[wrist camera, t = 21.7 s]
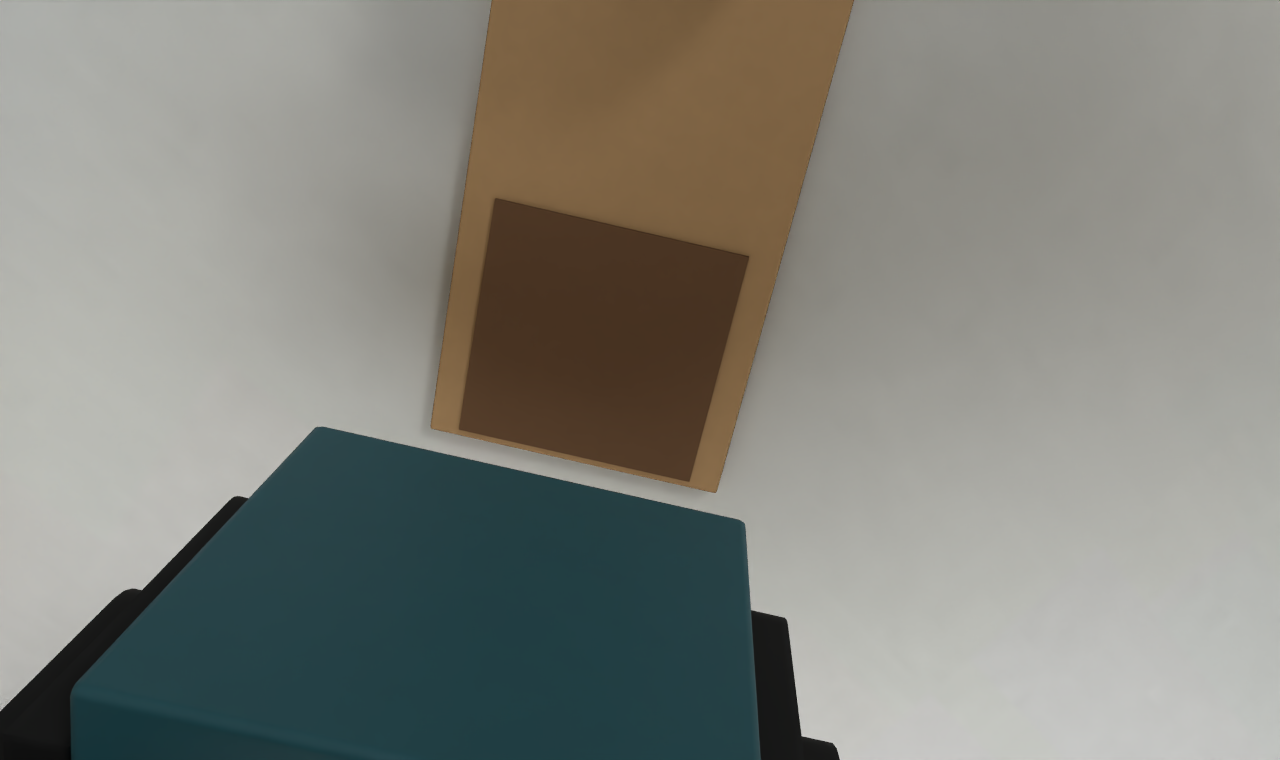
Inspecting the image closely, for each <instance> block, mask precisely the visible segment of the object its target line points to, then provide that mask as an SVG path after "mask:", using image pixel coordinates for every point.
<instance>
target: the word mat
mask: <svg viewBox="0 0 1280 760" xmlns="http://www.w3.org/2000/svg"><path fill="white" fill-rule="evenodd" d="M853 2H854V0H492V3H491V10H490V17H489V24H488V31H487V38H486V45H485V52H484V59H483V66H482V72H481V79H480V86H479V93H478V100H477V107H476V114H475V121H474V128H473V135H472V142H471V149H470V156H469V163H468V170H467V177H466V183H465V190H464V197H463V204H462V211H461V218H460V225H459V232H458V239H457V246H456V253H455V260H454V267H453V274H452V281H451V288H450V295H449V301H448V308H447V315H446V322H445V329H444V336H443V343H442V350H441V357H440V364H439V371H438V378H437V385H436V392H435V399H434V406H433V412H432V419H431V428H432V429H436V430H440V431H444V432H449V433H453V434H458V435H462V436H466V437H471V438H475V439H480V440H484V441H488V442H493V443H497V444H502V445H506V446H510V447H515V448H519V449H524V450H528V451H532V452H537V453H541V454H546V455H550V456H554V457H559V458H563V459H568V460H572V461H576V462H581V463H585V464H590V465H594V466H598V467H603V468H607V469H612V470H616V471H620V472H625V473H629V474H633V475H638V476H642V477H647V478H651V479H655V480H660V481H664V482H669V483H673V484H677V485H682V486H686V487H691V488H695V489H699V490H704V491H708V492H713V493H716V492H717V488H718V485H719V481H720V478H721V474H722V471H723V467H724V463H725V460H726V456H727V453H728V449H729V446H730V442H731V438H732V435H733V431H734V428H735V424H736V420H737V417H738V413H739V410H740V406H741V403H742V399H743V395H744V392H745V388H746V385H747V381H748V378H749V374H750V370H751V367H752V363H753V360H754V356H755V353H756V349H757V345H758V342H759V338H760V335H761V331H762V327H763V324H764V320H765V317H766V313H767V310H768V306H769V302H770V299H771V295H772V292H773V288H774V285H775V281H776V277H777V274H778V270H779V267H780V263H781V260H782V256H783V252H784V249H785V245H786V242H787V238H788V234H789V231H790V227H791V224H792V220H793V217H794V213H795V209H796V206H797V202H798V199H799V195H800V192H801V188H802V184H803V181H804V177H805V174H806V170H807V167H808V163H809V159H810V156H811V152H812V149H813V145H814V141H815V138H816V134H817V131H818V127H819V124H820V120H821V116H822V113H823V109H824V106H825V102H826V99H827V95H828V91H829V88H830V84H831V81H832V77H833V74H834V70H835V66H836V63H837V59H838V56H839V52H840V48H841V45H842V41H843V38H844V34H845V31H846V27H847V23H848V20H849V16H850V13H851V9H852V6H853Z"/></svg>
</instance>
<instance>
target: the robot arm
mask: <svg viewBox="0 0 1280 760" xmlns="http://www.w3.org/2000/svg"><path fill="white" fill-rule="evenodd" d="M248 499H249V498H245V497H240V496H236V497H233V498H232V499H231V500H229V501H228V502H227V503H226V505H225V506H224V507H223V508H222V509H221V510H220V511H219V512H218V513H217V514H216V515H215V516H214V517H213V518H212V519H211V520H210V521H209V522H208V523H207V524H206V525H205V526H204V527H203V528H202V529H201V530H200V531H199V532H198V533H197V534H196V535H195V536H194V537H193V538H192V539H191V540H190V541H189V543H188V544H187V545H186V546H185V547H184V548H183V549H182V550H181V551H180V552H179V553H178V554H177V555H176V556H175V557H174V558H173V559H172V560H171V561H170V562H169V563H168V564H167V565H166V566H165V567H164V568H163V569H162V570H161V571H160V572H159V573H158V574H157V575H156V576H155V577H154V578H153V580H152V581H151V582H150V583H149V584H148V585H147V586H146V587H145V588H144V589H143V590H138V589H129V590H125V591H123V592H122V593H121V594H119V595H118V596H117V597H115V598H114V599H113V600H112V601H111V602H110V603H109V604H108V605H107V606H106V607H105V608H104V609H103V610H102V611H101V612H100V613H99V614H98V615H97V616H96V617H95V618H94V619H93V620H92V621H91V622H90V623H89V624H88V625H87V626H86V627H85V628H84V629H83V630H82V631H81V632H80V633H79V634H78V635H77V636H76V637H75V638H74V639H73V640H72V641H71V642H70V643H69V644H68V645H67V646H66V647H65V648H64V649H63V650H62V651H61V652H60V653H59V654H58V655H57V656H56V657H55V658H54V659H53V660H52V661H51V662H50V663H49V664H48V665H47V666H46V667H45V668H44V669H43V670H42V671H41V672H40V673H39V674H37V675H36V676H35V677H34V678H33V679H32V680H31V681H30V682H29V683H28V684H27V685H26V686H25V687H24V688H23V689H22V690H21V691H20V692H19V693H18V694H17V695H16V696H15V697H14V698H13V699H12V700H11V701H10V702H9V703H8V704H7V705H6V706H5V707H4V708H3V709H2V710H1V711H0V760H71V718H70V695H71V692H72V689H73V687H74V685H75V683H76V682H77V681H78V680H79V679H80V678H81V677H82V676H83V675H84V674H85V673H86V672H87V670H88V669H89V668H90V667H91V666H92V665H93V664H94V663H95V662H96V661H97V660H98V659H99V658H100V657H101V656H102V654H103V653H104V652H105V651H106V650H107V649H108V648H109V647H110V646H111V645H112V644H113V643H114V642H115V641H116V640H117V638H118V637H119V636H120V635H121V634H122V633H123V632H124V631H125V630H126V629H127V628H128V627H129V626H130V625H131V624H132V623H133V621H134V620H135V619H136V618H137V617H138V616H139V615H140V614H141V613H142V612H143V611H144V610H145V609H146V608H147V607H148V605H149V604H150V603H151V602H152V601H153V600H154V599H155V598H156V597H157V596H158V595H159V594H160V593H161V592H162V591H163V589H164V588H165V587H166V586H167V585H168V584H169V583H170V582H171V581H172V580H173V579H174V578H175V577H176V576H177V575H178V573H179V572H180V571H181V570H182V569H183V568H184V567H185V566H186V565H187V564H188V563H189V562H190V561H191V560H192V559H193V557H194V556H195V555H196V554H197V553H198V552H199V551H200V550H201V549H202V548H203V547H204V546H205V545H206V544H207V543H208V541H209V540H210V539H211V538H212V537H213V536H214V535H215V534H216V533H217V532H218V531H219V530H220V529H221V528H222V527H223V526H224V524H225V523H226V522H227V521H228V520H229V519H230V518H231V517H232V516H233V515H234V514H235V513H236V512H237V511H238V510H239V508H240V507H241V506H242V505H243V504H244V503H245V502H246V501H247V500H248ZM751 620H752V635H753V650H754V665H755V680H756V695H757V710H758V726H759V741H760V756H761V760H840V759H839V755H838V752H837V748H836V747H835V746H834V744H833V743H829V742H825V741H820V740H816V739H811V738H807V737H802V736H801V729H800V721H799V713H798V704H797V696H796V688H795V680H794V672H793V663H792V655H791V647H790V639H789V631H788V624H787V620H786V619H785V618H783V617H779V616H774V615H770V614H765V613H761V612H756V611H752V610H751Z"/></svg>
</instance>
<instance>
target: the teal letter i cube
mask: <svg viewBox="0 0 1280 760" xmlns="http://www.w3.org/2000/svg"><path fill="white" fill-rule="evenodd" d="M70 718H71V760H761V756H760V741H759V726H758V710H757V695H756V680H755V665H754V650H753V635H752V620H751V604H750V589H749V574H748V559H747V544H746V529H745V524H744V523H743V522H742V521H740V520H738V519H733V518H729V517H724V516H720V515H715V514H711V513H706V512H702V511H697V510H693V509H688V508H684V507H680V506H675V505H671V504H666V503H662V502H657V501H653V500H648V499H644V498H639V497H635V496H630V495H626V494H622V493H617V492H613V491H608V490H604V489H599V488H595V487H590V486H586V485H581V484H577V483H572V482H568V481H563V480H559V479H555V478H550V477H546V476H541V475H537V474H532V473H528V472H523V471H519V470H514V469H510V468H505V467H501V466H497V465H492V464H488V463H483V462H479V461H474V460H470V459H465V458H461V457H456V456H452V455H447V454H443V453H438V452H434V451H430V450H425V449H421V448H416V447H412V446H407V445H403V444H398V443H394V442H389V441H385V440H380V439H376V438H372V437H367V436H363V435H358V434H354V433H349V432H345V431H340V430H336V429H331V428H327V427H316V428H315V429H314V430H313V431H312V432H311V433H310V434H309V435H308V436H307V437H306V438H305V439H304V440H303V441H302V442H301V443H300V444H299V446H298V447H297V448H296V449H295V450H294V451H293V452H292V453H291V454H290V455H289V456H288V457H287V458H286V459H285V460H284V462H283V463H282V464H281V465H280V466H279V467H278V468H277V469H276V470H275V471H274V472H273V473H272V474H271V475H270V476H269V478H268V479H267V480H266V481H265V482H264V483H263V484H262V485H261V486H260V487H259V488H258V489H257V490H256V491H255V492H254V494H253V495H252V496H251V497H250V498H249V499H248V500H247V501H246V502H245V503H244V504H243V505H242V506H241V507H240V508H239V510H238V511H237V512H236V513H235V514H234V515H233V516H232V517H231V518H230V519H229V520H228V521H227V522H226V523H225V524H224V526H223V527H222V528H221V529H220V530H219V531H218V532H217V533H216V534H215V535H214V536H213V537H212V538H211V539H210V540H209V541H208V543H207V544H206V545H205V546H204V547H203V548H202V549H201V550H200V551H199V552H198V553H197V554H196V555H195V556H194V557H193V559H192V560H191V561H190V562H189V563H188V564H187V565H186V566H185V567H184V568H183V569H182V570H181V571H180V572H179V573H178V575H177V576H176V577H175V578H174V579H173V580H172V581H171V582H170V583H169V584H168V585H167V586H166V587H165V588H164V589H163V591H162V592H161V593H160V594H159V595H158V596H157V597H156V598H155V599H154V600H153V601H152V602H151V603H150V604H149V605H148V607H147V608H146V609H145V610H144V611H143V612H142V613H141V614H140V615H139V616H138V617H137V618H136V619H135V620H134V621H133V623H132V624H131V625H130V626H129V627H128V628H127V629H126V630H125V631H124V632H123V633H122V634H121V635H120V636H119V637H118V638H117V640H116V641H115V642H114V643H113V644H112V645H111V646H110V647H109V648H108V649H107V650H106V651H105V652H104V653H103V654H102V656H101V657H100V658H99V659H98V660H97V661H96V662H95V663H94V664H93V665H92V666H91V667H90V668H89V669H88V670H87V672H86V673H85V674H84V675H83V676H82V677H81V678H80V679H79V680H78V681H77V682H76V683H75V685H74V687H73V689H72V692H71V695H70Z"/></svg>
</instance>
